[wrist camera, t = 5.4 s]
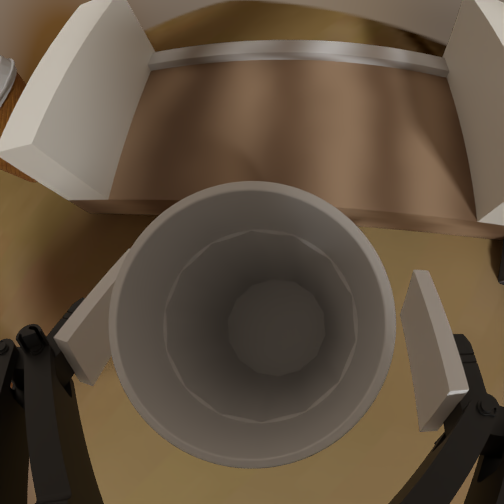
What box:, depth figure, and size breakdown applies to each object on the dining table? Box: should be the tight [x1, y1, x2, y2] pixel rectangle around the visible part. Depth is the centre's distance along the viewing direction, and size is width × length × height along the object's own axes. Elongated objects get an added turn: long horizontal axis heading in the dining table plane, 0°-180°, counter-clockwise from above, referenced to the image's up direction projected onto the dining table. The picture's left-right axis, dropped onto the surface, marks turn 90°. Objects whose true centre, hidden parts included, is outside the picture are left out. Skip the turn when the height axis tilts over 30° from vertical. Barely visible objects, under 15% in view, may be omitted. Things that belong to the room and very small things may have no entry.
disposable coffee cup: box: [0, 56, 38, 182], centre depth 21 cm, size 10×10×12 cm
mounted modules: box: [0, 0, 504, 225], centre depth 16 cm, size 32×14×8 cm, turn 83°
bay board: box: [69, 40, 504, 240], centre depth 21 cm, size 32×14×4 cm, turn 83°
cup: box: [109, 181, 396, 468], centre depth 14 cm, size 8×8×12 cm
